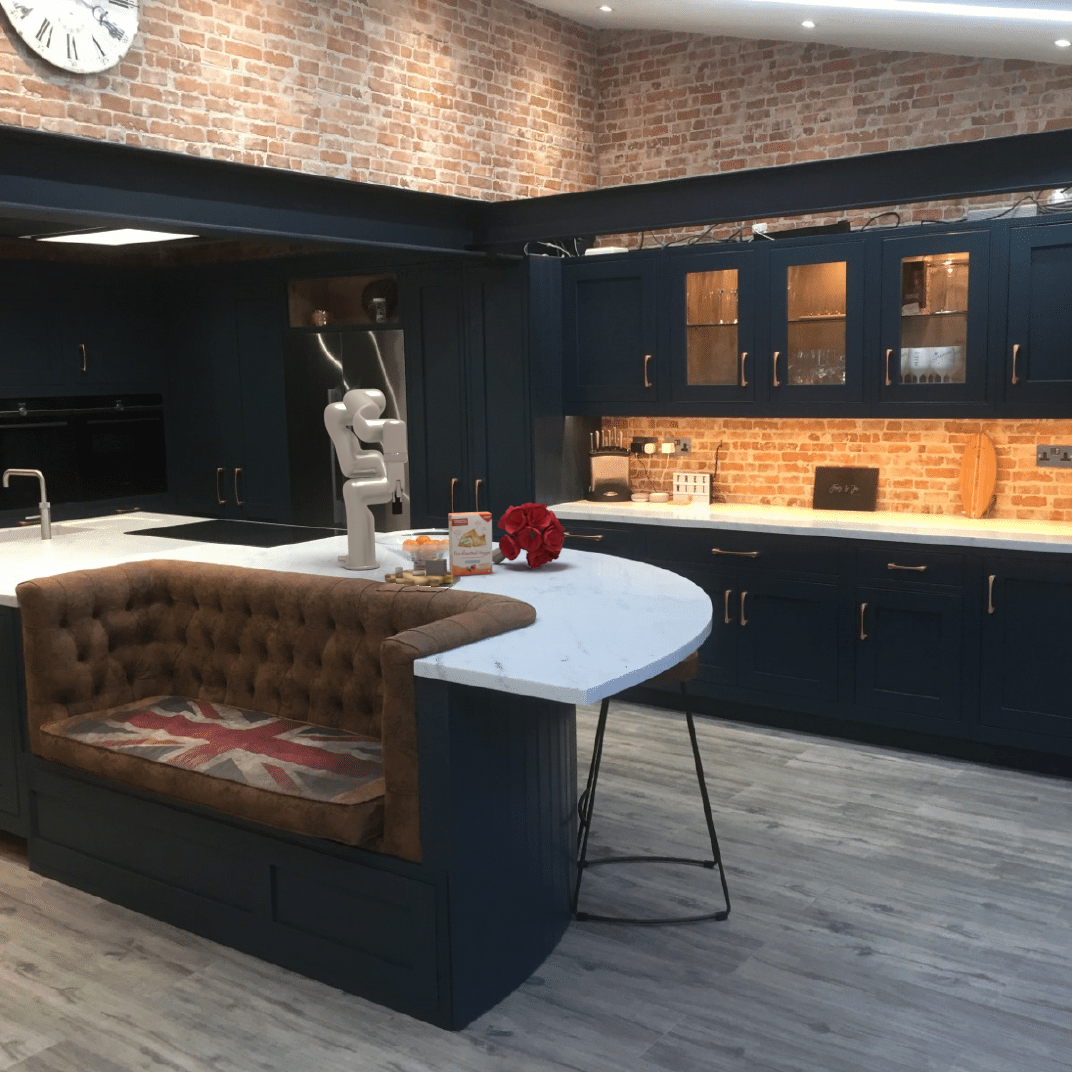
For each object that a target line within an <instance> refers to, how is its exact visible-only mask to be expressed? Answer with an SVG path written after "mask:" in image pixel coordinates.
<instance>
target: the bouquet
mask: <svg viewBox="0 0 1072 1072" xmlns="http://www.w3.org/2000/svg"><path fill="white" fill-rule="evenodd" d="M496 527H497V528H498V529H500V530H503V531H504V532H505V531H506V532H507V533H508V534H509V535H508V534H504V536H502V537H501V538H500V539H499V541H498V547H497V548H494V549H492V563H494V564H496V565H498V564H501V563H502V562H503V561H505V559H508V561H510V562H512V561H515V560H516V559H517V558H519V555H520V554H521V551H526V553H525V554H526V555H525V559H526V562H527V565H528V567H529V568H530V569H531V570H532V569H539V568H541V566H543V565H546V564H548V563H552V562H553V560H554V561H556V560H559V558H560V554H561V552H562V550H563V545H564V542H565V535H566V534H565V532H563V531H565V530H566V528H565V527H564V526H563V525H562V524H561V523H560V521H559V519H558V517H556V514H555V513H554V511H553V510H551V509H548V504H544V503H539V502H535V503H533V502H526V503H522V504H521V505H517V506H515V507H514V506H513V505H510V506H508V508H507V510H505V512H504V513H503V514H502V515H501V517H500V519H499V521H498V522H497V526H496Z"/></svg>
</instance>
